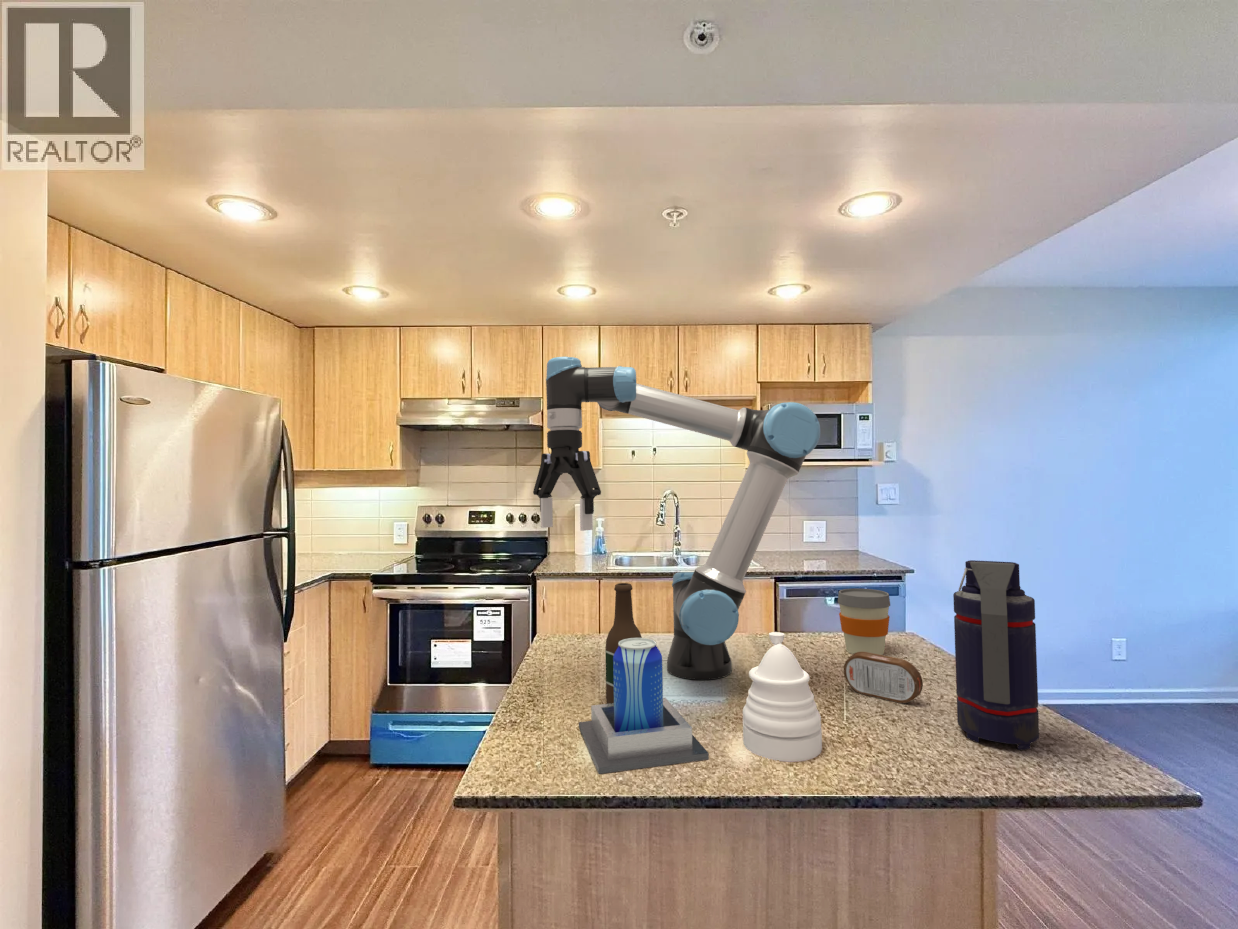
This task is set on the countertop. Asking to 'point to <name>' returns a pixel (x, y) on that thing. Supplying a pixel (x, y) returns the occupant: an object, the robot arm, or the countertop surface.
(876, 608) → the reusable coffee cup
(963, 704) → the grenade
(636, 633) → the beer bottle
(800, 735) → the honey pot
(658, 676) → the beer can
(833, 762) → the countertop surface
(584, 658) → the countertop surface
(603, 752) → the silver square tray
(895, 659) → the tin
